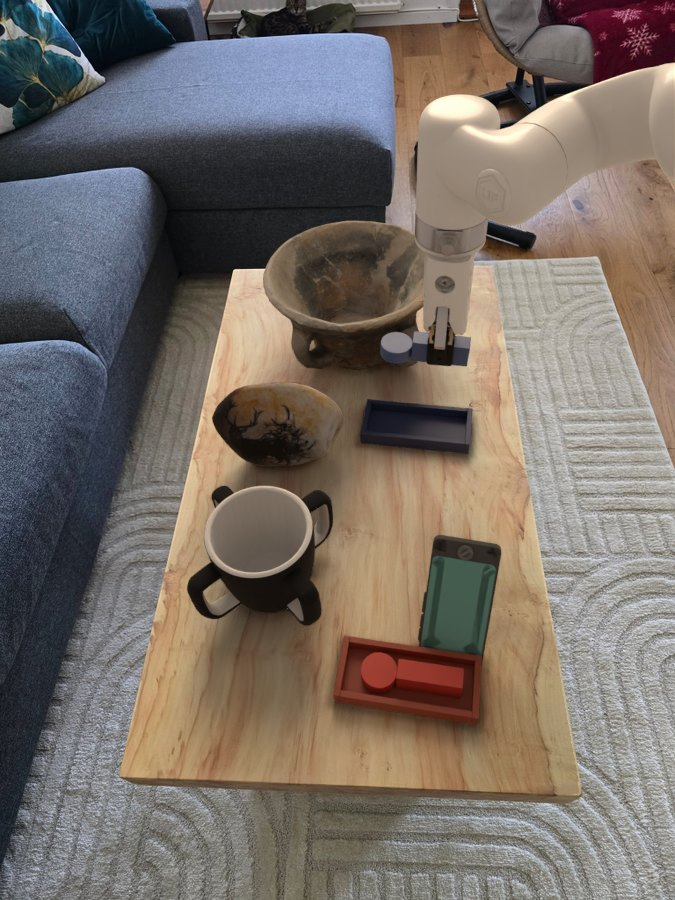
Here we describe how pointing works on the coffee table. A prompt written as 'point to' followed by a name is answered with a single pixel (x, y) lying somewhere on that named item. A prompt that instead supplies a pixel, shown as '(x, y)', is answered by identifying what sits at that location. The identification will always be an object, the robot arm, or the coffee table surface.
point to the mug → (263, 552)
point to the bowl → (347, 291)
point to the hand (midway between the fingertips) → (440, 354)
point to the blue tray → (417, 426)
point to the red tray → (407, 701)
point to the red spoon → (410, 676)
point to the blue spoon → (419, 348)
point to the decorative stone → (278, 423)
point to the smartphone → (459, 595)
